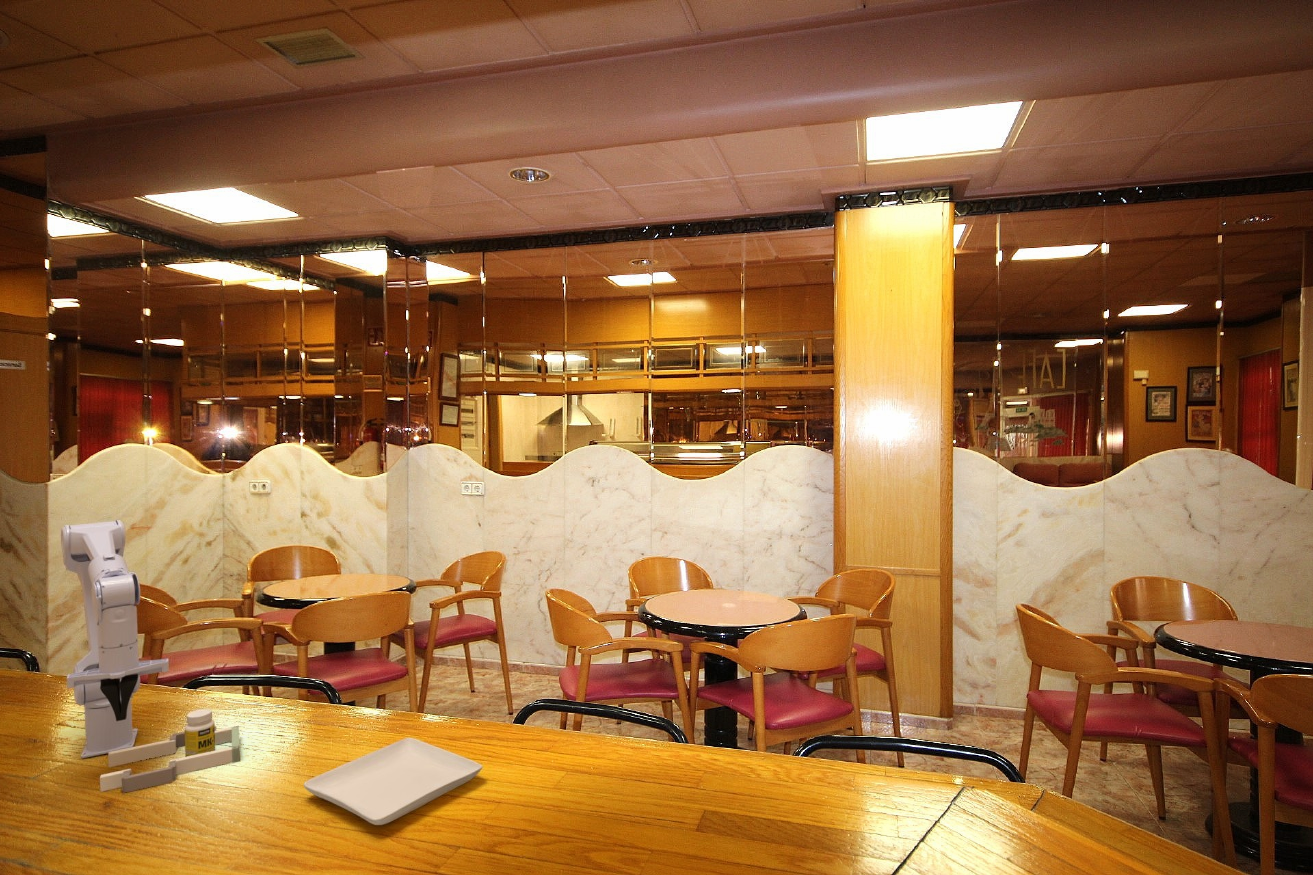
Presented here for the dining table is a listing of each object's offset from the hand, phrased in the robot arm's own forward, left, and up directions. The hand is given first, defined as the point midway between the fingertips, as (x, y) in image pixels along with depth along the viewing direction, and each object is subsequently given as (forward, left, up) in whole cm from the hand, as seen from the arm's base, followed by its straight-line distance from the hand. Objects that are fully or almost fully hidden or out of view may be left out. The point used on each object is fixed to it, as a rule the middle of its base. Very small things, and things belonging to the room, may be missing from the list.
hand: (121, 718), depth 130 cm
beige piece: (+1, +7, -10) cm, 12 cm away
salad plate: (+33, +40, -10) cm, 53 cm away
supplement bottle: (+1, +12, -10) cm, 15 cm away
